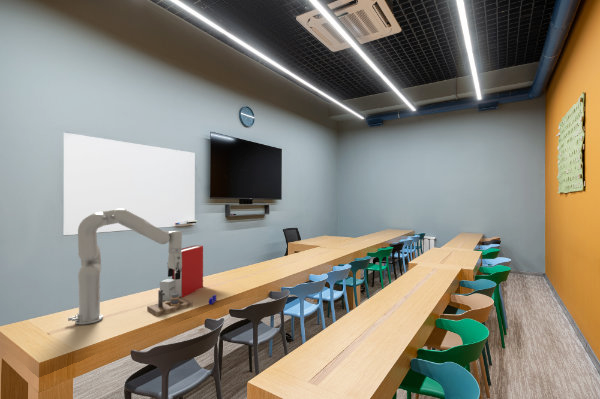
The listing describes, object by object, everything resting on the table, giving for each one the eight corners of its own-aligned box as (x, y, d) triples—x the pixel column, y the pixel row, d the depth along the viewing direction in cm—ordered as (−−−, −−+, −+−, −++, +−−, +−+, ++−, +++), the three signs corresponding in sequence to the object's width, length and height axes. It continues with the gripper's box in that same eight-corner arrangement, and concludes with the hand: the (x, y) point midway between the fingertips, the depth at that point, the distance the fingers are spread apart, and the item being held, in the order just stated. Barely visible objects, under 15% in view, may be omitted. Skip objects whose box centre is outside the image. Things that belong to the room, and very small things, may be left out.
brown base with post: (156, 316, 173) (157, 294, 173) (147, 310, 183) (147, 289, 183) (192, 306, 190) (192, 286, 190) (181, 301, 199) (181, 282, 199)
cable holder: (211, 300, 201) (211, 294, 201) (216, 300, 200) (216, 294, 200) (206, 304, 193) (206, 298, 193) (212, 305, 192) (212, 298, 192)
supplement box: (169, 301, 200) (169, 282, 200) (159, 300, 201) (159, 281, 201) (175, 297, 207) (175, 279, 207) (166, 296, 208) (166, 278, 208)
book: (181, 297, 206) (182, 251, 206) (171, 296, 208) (172, 250, 208) (204, 286, 233) (204, 245, 233) (194, 285, 235) (195, 245, 235)
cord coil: (180, 306, 188) (180, 294, 188) (172, 309, 185) (172, 296, 185) (176, 305, 192) (176, 292, 192) (169, 307, 188) (169, 294, 188)
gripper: (187, 251, 185) (186, 279, 185) (174, 248, 197) (173, 274, 197) (175, 252, 180) (174, 281, 179) (162, 249, 191) (161, 276, 191)
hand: (174, 277), depth 188 cm, fingers open, 9 cm apart
